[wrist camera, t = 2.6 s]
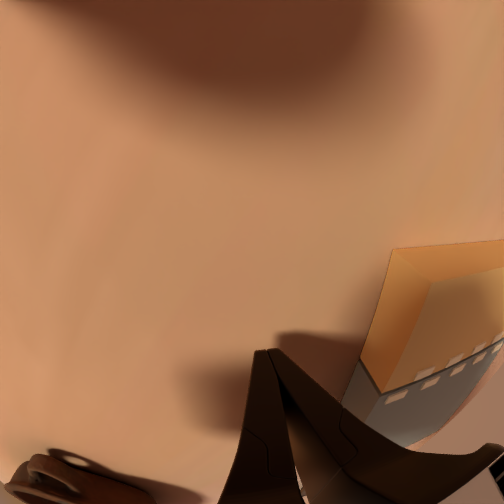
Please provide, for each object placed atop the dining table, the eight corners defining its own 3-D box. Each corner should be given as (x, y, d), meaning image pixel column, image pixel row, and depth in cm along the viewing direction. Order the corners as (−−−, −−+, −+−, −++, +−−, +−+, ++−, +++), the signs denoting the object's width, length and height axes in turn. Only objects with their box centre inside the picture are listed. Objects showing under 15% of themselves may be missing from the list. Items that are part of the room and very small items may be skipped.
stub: (488, 313, 15) (510, 334, 13) (359, 356, 13) (382, 395, 11) (518, 238, 13) (545, 257, 10) (392, 249, 10) (433, 284, 8)
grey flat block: (427, 411, 21) (439, 430, 19) (315, 453, 19) (325, 479, 16) (487, 316, 15) (508, 337, 13) (358, 360, 13) (380, 398, 11)
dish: (159, 458, 16) (163, 519, 11) (175, 511, 25) (179, 541, 21) (-29, 412, 12) (-43, 456, 7) (55, 492, 21) (53, 520, 17)
